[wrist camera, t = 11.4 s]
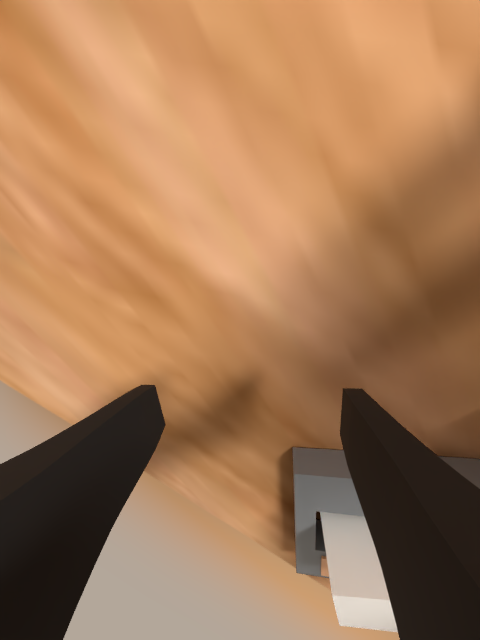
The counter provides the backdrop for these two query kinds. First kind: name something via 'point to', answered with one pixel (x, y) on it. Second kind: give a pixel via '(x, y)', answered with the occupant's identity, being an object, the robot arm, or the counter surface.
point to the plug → (356, 574)
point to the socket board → (334, 499)
